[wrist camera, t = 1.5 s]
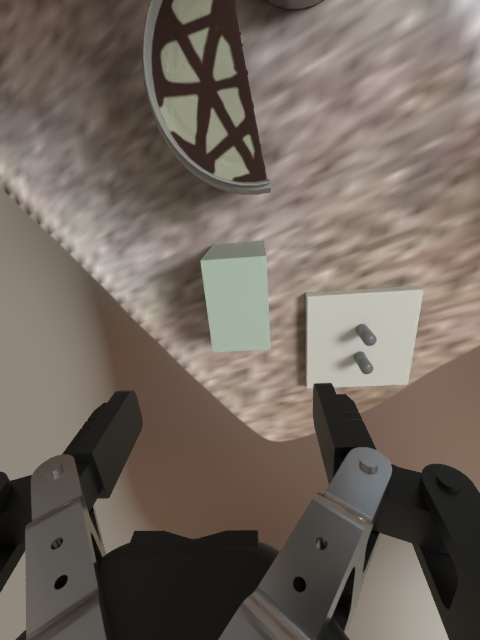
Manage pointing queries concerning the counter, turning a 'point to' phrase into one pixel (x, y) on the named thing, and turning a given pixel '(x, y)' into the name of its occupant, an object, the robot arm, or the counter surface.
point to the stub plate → (361, 336)
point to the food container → (203, 92)
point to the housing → (237, 296)
